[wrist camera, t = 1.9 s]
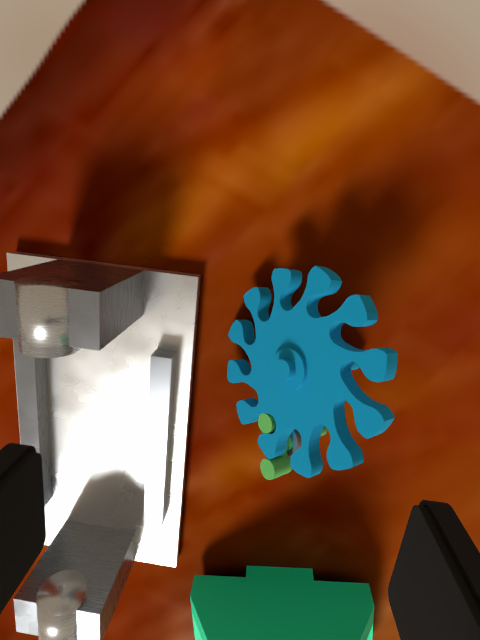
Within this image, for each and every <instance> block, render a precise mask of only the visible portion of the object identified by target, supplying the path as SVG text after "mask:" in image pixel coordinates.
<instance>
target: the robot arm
mask: <svg viewBox="0 0 480 640" xmlns="http://www.w3.org/2000/svg"><path fill="white" fill-rule="evenodd" d="M45 539H46V525H45V507H44V490H43V472H42V457H41V454H40V453H37V452H36V449H35V447H34V446H30V445H23V444H15V443H9V444H7V445H6V446H4V447H3V448H2V449H1V450H0V614H1V612H2V610H3V609H4V607H5V606H6V604H7V603H8V601H9V600H10V598H11V597H12V595H13V594H14V592H15V590H16V589H17V587H18V586H19V584H20V583H21V581H22V580H23V578H24V577H25V575H26V574H27V572H28V571H29V569H30V567H31V566H32V564H33V563H34V561H35V560H36V558H37V557H38V555H39V554H40V552H41V550H42V548H43V546H44V543H45ZM388 596H389V602H390V606H391V609H392V612H393V616H394V619H395V622H396V625H397V629H398V632H399V635H400V638H401V640H480V553H479V551H478V550H477V548H476V546H475V545H474V543H473V541H472V540H471V538H470V536H469V535H468V533H467V531H466V530H465V528H464V527H463V525H462V523H461V522H460V520H459V518H458V517H457V515H456V513H455V512H454V510H453V508H452V507H451V506H450V505H449V504H447V503H442V502H435V501H428V500H422V501H421V502H420V504H419V506H417V505H415V506H413V508H412V511H411V514H410V517H409V520H408V524H407V527H406V530H405V534H404V537H403V540H402V543H401V547H400V550H399V553H398V557H397V560H396V563H395V566H394V570H393V573H392V576H391V579H390V583H389V587H388Z"/></svg>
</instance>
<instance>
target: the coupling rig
mask: <svg viewBox="0 0 480 640" xmlns="http://www.w3.org/2000/svg"><path fill="white" fill-rule="evenodd" d="M7 266H8V271H7V272H3V273H0V337H5V338H12V339H13V348H14V362H15V376H16V389H17V403H18V417H19V431H20V444H23V445H30V446H34V447H35V449H36V452H37V453H40V454H41V457H42V472H43V490H44V507H45V525H46V539H45V543H44V545H49V547H48V548H47V550H46V551H45V553H44V554H43V556H42V557H41V559H40V560H39V562H38V563H37V565H36V566H35V568H34V569H33V571H32V572H31V574H30V575H29V577H28V578H27V580H26V581H25V583H24V584H23V586H22V587H21V589H20V590H19V592H18V593H17V594H16V596H15V597H14V609H15V620H16V630H17V632H22V633H27V634H32V635H38V636H39V640H103V638H104V635H105V633H106V630H107V628H108V625H109V623H110V620H111V618H112V615H113V613H114V610H115V608H116V605H117V603H118V601H119V598H120V596H121V593H122V591H123V588H124V586H125V583H126V581H127V578H128V576H129V573H130V571H131V568H132V566H133V563H134V561H135V560H136V561H142V562H147V563H153V564H159V565H165V566H171V567H176V565H177V561H178V558H179V546H180V533H181V520H182V508H183V495H184V483H185V470H186V458H187V445H188V432H189V420H190V407H191V395H192V382H193V370H194V357H195V344H196V332H197V319H198V307H199V294H200V282H201V275H200V274H192V273H184V272H176V271H168V270H160V269H153V268H145V267H137V266H129V265H121V264H113V263H105V262H97V261H89V260H81V259H73V258H65V257H58V256H50V255H42V254H34V253H26V252H18V251H14V252H8V253H7Z"/></svg>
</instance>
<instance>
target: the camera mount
mask: <svg viewBox="0 0 480 640" xmlns="http://www.w3.org/2000/svg"><path fill="white" fill-rule="evenodd" d="M190 599H191V608H192V617H193V625H194V634H195V640H372V635H373V620H374V602H373V598H372V594H371V590H370V586H369V583H352V582H332V581H314V578H313V569H311V568H290V567H268V566H246V577H231V576H211V575H195V576H194V581H193V585H192V589H191V594H190Z"/></svg>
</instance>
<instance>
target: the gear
mask: <svg viewBox="0 0 480 640" xmlns="http://www.w3.org/2000/svg"><path fill="white" fill-rule="evenodd" d="M301 282H302V272H301V271H299V270H294V269H286V268H277V269H274V270H273V272H272V284H273V288H274V305H273V309H272V313H271V316H270V317H269V306H270V303H271V292H270V290H269V288H265V287H254V288H252V289H250V290H249V291H248V292H247V293H246V294H245V295H244V302H245V305H246V307H247V308H248V309H249V310H250V312H251V314H252V316H253V319H254V323H255V331H256V340H255V337H254V328H253V325H252V323H251V322H250V321H249V320H235V321H234V323H233V324H232V326H231V328H230V331H229V334H228V335H229V338H230V340H231V341H232V342H234V343H237V344H238V345H240V346H241V347H242V348H243V349H244V350H245V352H246V354H247V355H248V357H249V359H250V362H251V365H252V369H251V367H250V365H249V363H248V362H247V361H246V360H244V359H238V360H230V361H229V363H228V370H227V379H228V381H229V382H231V383H238V382H245V383H247V384H248V385H250V386H251V387H252V388H254V389H255V390H256V392H257V394H258V398H259V400H258V401H257V400H256V399H254V398H250V399H245V400H240V401H238V402H237V412H238V416H239V419H240V422H241V423H242V424H248V423H252V422H256V421H258V425H259V428H260V429H261V431H262V432H263V434H261V435H260V436H259V438H258V444H259V446H260V448H261V450H262V451H263V453H264V454H265V455H266V457H267V458H266V459H263V460H262V461H261V465H260V468H261V472H262V474H263V476H264V477H265V478H266V479H268V480H272V479H274V478H277V477H279V476H282V475H284V474H287V473H289V472H290V471H291V469H293V470H294V471H296V472H297V473H298V474H300V475H302V476H304V477H307V478H310V477H313V476H315V475H317V474H320V472H321V471H322V468H323V462H322V458H321V454H320V436H322V435H325V434H326V432H327V429H328V430H329V432H330V436H331V441H330V445H329V447H328V450H327V461H328V463H329V466H330V467H331V469H334V470H345V469H349V468H352V467H354V466H357V465H359V464H361V463H363V460H364V457H363V453H362V450H361V448H360V447H359V446H358V444H357V443H356V442H355V441H354V439H353V437H352V436H351V434H350V432H349V429H348V426H347V423H346V418H345V410H344V404H345V401H347V402H348V403H350V405H351V406H352V408H353V411H354V419H355V425H356V428H357V430H358V431H359V433H360V434H361V435H362V436H364V437H365V438H367V439H368V438H371V437H374V436H376V435H379V434H381V433H383V432H384V431H385V430H386V429H387V428H388V427H389V426H390V424H391V423H392V421H393V420H394V418H395V417H394V415H393V413H392V411H391V410H390V409H389V408H388V407H387V406H385V405H384V404H381V403H378V402H376V401H374V400H372V399H371V398H370V397H368V396H367V395H366V394H365V393H364V392H363V391H362V390H361V389H360V387H359V386H358V384H357V383H356V381H355V379H354V378H353V376H352V373H351V370H354V369H358V368H359V367H360V369H361V370H362V372H363V373H364V375H365V376H366V377H367V378H368V379H369V380H371V381H373V382H383V381H387V380H392V379H393V378H394V376H395V373H396V369H397V352H396V351H395V350H393V349H391V348H387V347H386V348H376V349H370V350H367V351H366V350H361V349H357V348H355V347H353V346H351V345H349V344H347V343H346V342H344V340H343V339H342V337H341V327H342V325H343V324H344V323H346V324H348V325H351V326H354V327H361V326H371V325H373V324H375V323H376V322H377V321H378V314H377V310H376V307H375V305H374V302H373V301H372V299H371V297H370V295H351V296H350V297H348V298H347V299H346V300H345V302H344V303H343V305H342V306H341V307H340V308H339V309H338V310H337V311H335V312H334V313H332V314H330V315H328V316H325V317H322V316H321V315H320V314H319V312H318V302H319V300H320V299H321V298H322V297H324V296H328V295H332V294H335V293H336V292H337V291H338V290H339V289H340V287H341V285H342V280H341V278H340V277H339V276H338V275H337V274H336V273H335V272H334V271H332V270H331V269H329V268H327V267H321V266H314V267H313V268H312V269H311V270H310V272H309V274H308V279H307V285H306V289H305V291H304V294H303V296H302V298H301V299H300V301H299V302H298V303H297V304H296V305H295V306H294V307H292V304H291V298H292V295H293V293H294V292H295V291H296V290H297V289H298V288H299V286H300V285H301ZM288 455H289V456H290V455H291V458H290V457H289V456H288Z"/></svg>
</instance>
